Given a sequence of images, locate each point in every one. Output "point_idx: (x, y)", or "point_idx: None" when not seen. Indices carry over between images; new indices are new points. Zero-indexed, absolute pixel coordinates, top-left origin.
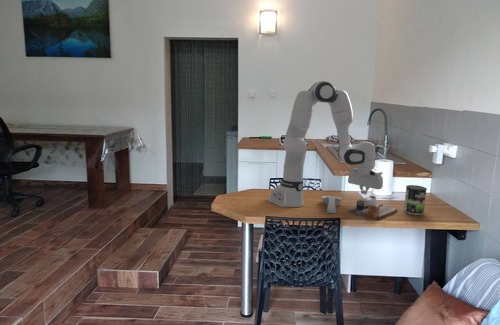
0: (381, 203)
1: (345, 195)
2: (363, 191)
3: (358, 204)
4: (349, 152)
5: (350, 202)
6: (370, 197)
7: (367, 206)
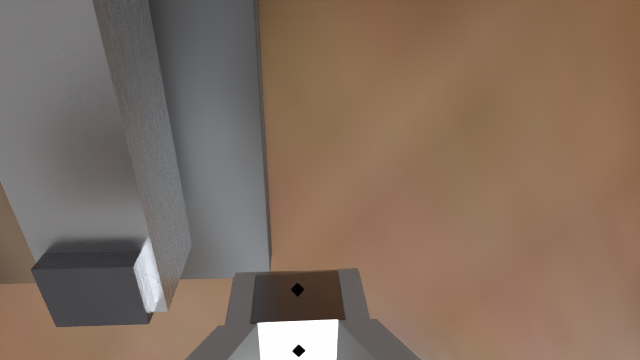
0: None
1: (623, 325)
2: (294, 312)
3: None
4: None
5: (487, 148)
6: (108, 239)
7: None
